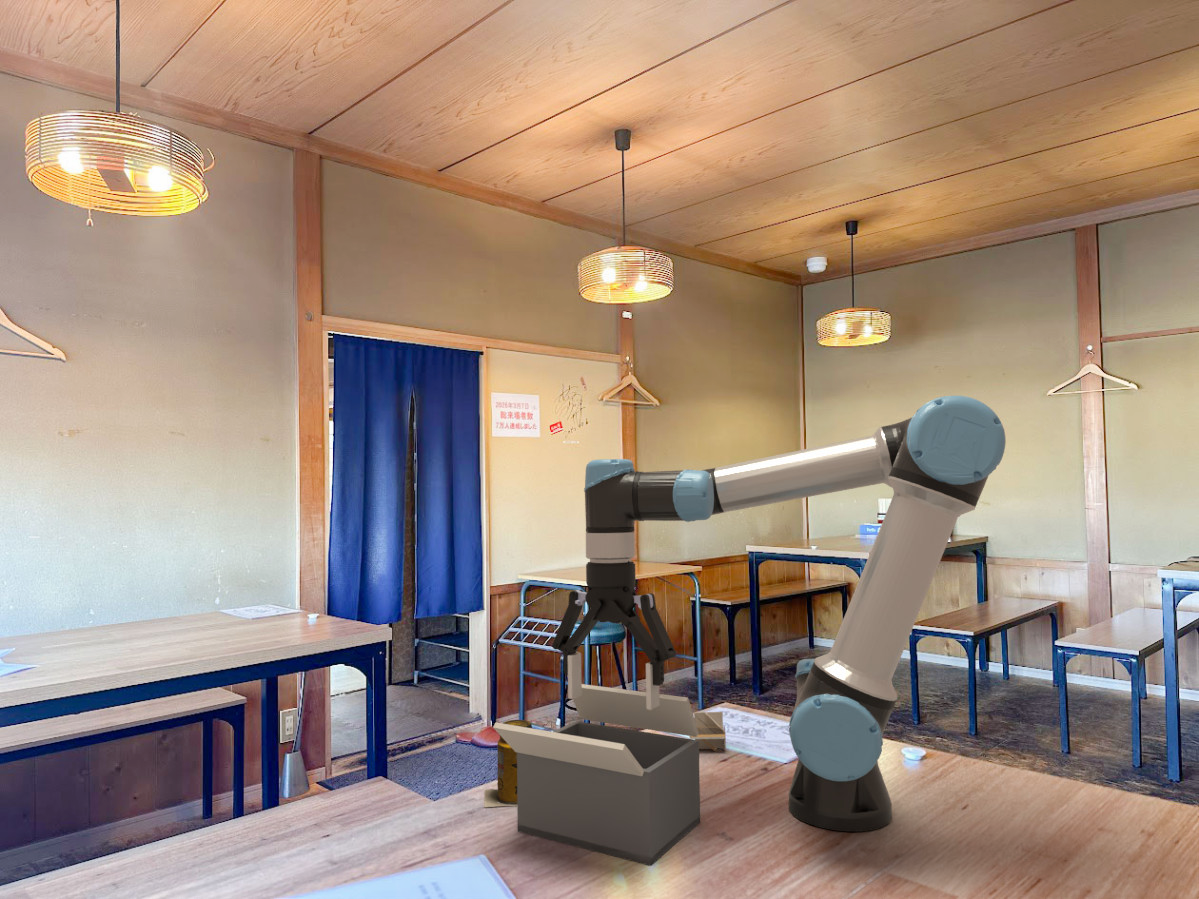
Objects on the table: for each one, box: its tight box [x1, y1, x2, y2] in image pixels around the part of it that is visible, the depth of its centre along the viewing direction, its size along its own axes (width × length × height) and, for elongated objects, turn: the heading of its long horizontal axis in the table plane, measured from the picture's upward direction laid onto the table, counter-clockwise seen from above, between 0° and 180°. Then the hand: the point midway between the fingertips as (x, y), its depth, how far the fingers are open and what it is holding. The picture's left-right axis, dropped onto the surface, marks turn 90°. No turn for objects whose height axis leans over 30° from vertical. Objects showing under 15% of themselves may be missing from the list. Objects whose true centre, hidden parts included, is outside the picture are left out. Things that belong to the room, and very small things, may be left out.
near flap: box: [493, 722, 644, 776], centre depth 107 cm, size 21×7×1 cm
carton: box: [516, 720, 701, 866], centre depth 116 cm, size 22×16×12 cm
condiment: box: [483, 719, 533, 808], centre depth 128 cm, size 7×8×12 cm
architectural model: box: [688, 711, 727, 752], centre depth 151 cm, size 3×7×7 cm, turn 90°
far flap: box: [572, 683, 699, 737], centre depth 123 cm, size 21×7×1 cm
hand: (612, 702), depth 118 cm, fingers open, 13 cm apart
